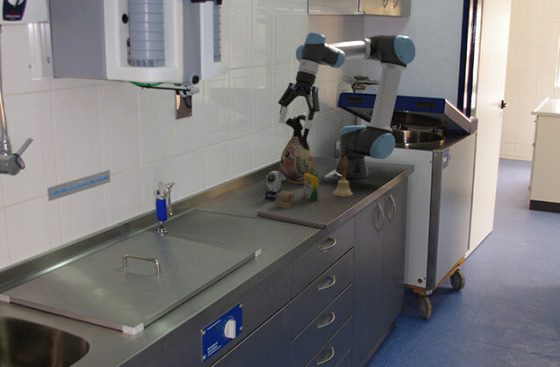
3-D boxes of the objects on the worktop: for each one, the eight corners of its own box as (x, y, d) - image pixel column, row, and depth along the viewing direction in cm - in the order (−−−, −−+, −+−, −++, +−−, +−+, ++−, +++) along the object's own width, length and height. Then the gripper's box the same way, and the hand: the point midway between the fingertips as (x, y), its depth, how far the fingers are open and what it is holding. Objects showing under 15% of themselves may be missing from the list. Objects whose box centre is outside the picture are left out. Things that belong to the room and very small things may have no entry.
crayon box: (302, 197, 265) (303, 168, 262) (309, 196, 266) (310, 168, 263) (311, 201, 259) (312, 172, 256) (318, 201, 260) (319, 172, 257)
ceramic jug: (272, 181, 289) (273, 113, 282) (294, 176, 301) (296, 110, 294) (302, 188, 279) (304, 117, 272) (324, 182, 290) (327, 114, 283)
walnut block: (282, 203, 255) (282, 191, 253) (293, 206, 252) (294, 193, 251) (275, 206, 250) (275, 193, 249) (287, 208, 248) (287, 196, 247)
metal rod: (260, 215, 240) (260, 210, 239) (326, 228, 226) (326, 223, 225) (257, 216, 238) (257, 211, 238) (323, 230, 224) (323, 224, 224)
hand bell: (341, 190, 277) (343, 153, 273) (357, 194, 271) (359, 156, 268) (328, 193, 271) (330, 155, 268) (344, 197, 266) (345, 158, 262)
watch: (263, 199, 259) (263, 172, 257) (272, 195, 266) (272, 168, 264) (275, 201, 257) (276, 174, 254) (284, 197, 264) (285, 170, 261)
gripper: (278, 67, 264) (265, 118, 265) (325, 73, 247) (310, 128, 248) (290, 72, 270) (277, 122, 271) (337, 78, 253) (323, 132, 254)
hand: (293, 125), depth 259 cm, fingers open, 13 cm apart
